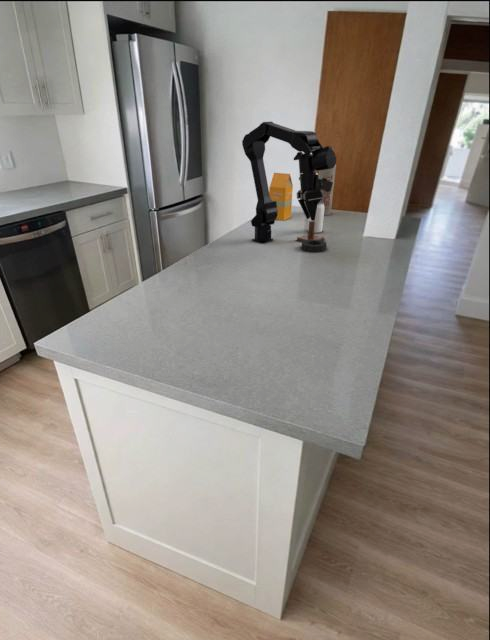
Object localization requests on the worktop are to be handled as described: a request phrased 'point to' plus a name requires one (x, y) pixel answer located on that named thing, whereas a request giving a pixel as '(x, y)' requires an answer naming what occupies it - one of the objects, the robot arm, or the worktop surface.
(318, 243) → the rubber ring
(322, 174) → the thermos bottle
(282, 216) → the orange juice
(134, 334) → the worktop surface
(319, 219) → the can
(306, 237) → the copper peg on plate
